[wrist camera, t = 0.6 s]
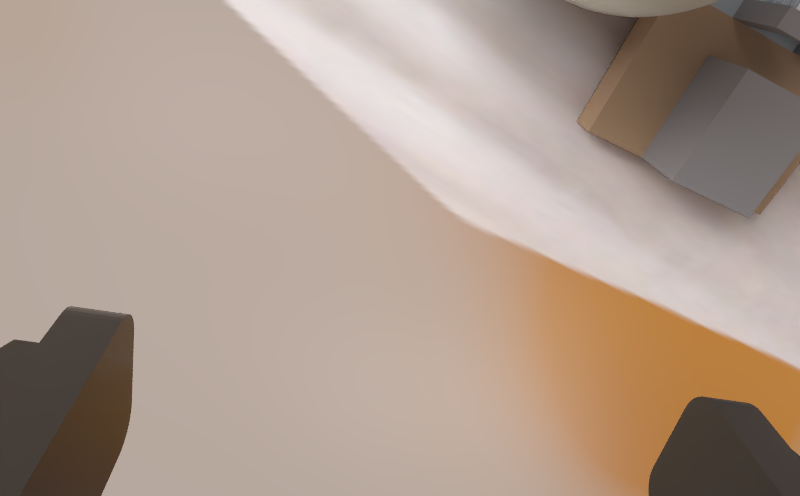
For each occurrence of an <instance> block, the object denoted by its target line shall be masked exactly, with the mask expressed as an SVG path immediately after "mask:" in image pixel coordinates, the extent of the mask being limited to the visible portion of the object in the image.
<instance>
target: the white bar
mask: <svg viewBox="0 0 800 496" xmlns="http://www.w3.org/2000/svg"><path fill="white" fill-rule="evenodd" d="M772 3H777V4H783V5H789V6H792V7H794V8H796V9H797V10H799V11H800V0H773V2H772Z"/></svg>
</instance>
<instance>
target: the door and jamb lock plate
mask: <svg viewBox="0 0 800 496" xmlns="http://www.w3.org/2000/svg"><path fill="white" fill-rule="evenodd" d="M772 2H773V0H718V1H716V2H714V3H711V4H708V5H706V6H702V7H699V8H696V9H692V10H689V11H685V12H680V13H676V14H670V15H663V16H654V17H639V18H638V19H637V21H636V23H635V24H634V26H633V28H632V29H631V31H630V33H629V35H628V36H627V38H626V40H625V41H624V43H623V45H622V46H621V48H620V50H619V51H618V53H617V55H616V56H615V58H614V60H613V62H612V63H611V65H610V67H609V68H608V70H607V72H606V73H605V75H604V77H603V78H602V80H601V82H600V83H599V85H598V87H597V89H596V90H595V92H594V94H593V95H592V97H591V99H590V100H589V102H588V104H587V105H586V107H585V109H584V110H583V112H582V114H581V116H580V117H579V119H578V121H577V123H578V124H580V125H581V126H582V127H583V128H584V129H586V130H587V131H588V132H590V133H592V134H594V135H596V136H598V137H600V138H602V139H604V140H606V141H608V142H610V143H612V144H614V145H617V146H619V147H621V148H623V149H625V150H627V151H629V152H631V153H633V154H635V155H637V156H639V157H641V158H643V159H644V160H645V161H647V162H648V163H649V164H650V165H652V166H653V167H654V168H655V169H657V170H658V171H659V172H661V173H662V174H663V175H664V176H666V177H667V178H668V179H670V180H671V181H672V182H674V183H677V184H679V185H681V186H683V187H685V188H687V189H689V190H691V191H693V192H695V193H697V194H700V195H702V196H704V197H706V198H708V199H710V200H712V201H714V202H716V203H718V204H720V205H723V206H725V207H727V208H729V209H731V210H733V211H735V212H737V213H739V214H741V215H743V216H746V217H748V218H750V216H751V215H752V214H753V212H755V213H757V214H759V215H760V214H761V213H762V211H763V210H764V209H765V207H766V206H767V205H768V203H769V202H770V201H771V199H772V198H773V197H774V195H775V194H776V193H777V192H778V190H779V189H780V188H781V186H782V185H783V184H784V182H785V181H786V180H787V178H788V177H789V176H790V174H791V173H792V172H793V170H794V169H795V168H796V167H797V165H798V164H799V163H800V11H799V10H797V9H796V8H794V7H792V6H789V5H783V4H777V3H772Z"/></svg>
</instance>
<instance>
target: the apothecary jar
mask: <svg viewBox="0 0 800 496" xmlns="http://www.w3.org/2000/svg"><path fill="white" fill-rule="evenodd" d="M564 1H566V2H569V3H571V4H573V5H575V6H578V7H580V8H583V9H586V10H589V11H593V12H597V13H601V14H607V15H613V16H621V17H654V16H663V15H670V14H676V13H680V12H685V11H689V10H692V9H696V8H699V7H702V6H706V5H708V4H711V3H714V2H716V1H718V0H564Z"/></svg>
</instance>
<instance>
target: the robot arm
mask: <svg viewBox="0 0 800 496" xmlns="http://www.w3.org/2000/svg"><path fill="white" fill-rule="evenodd" d="M133 341H134V322H133V318H132V316H131V315H129V314H122V313H115V312H108V311H100V310H94V309H86V308H79V307H72V306H70V307H67V308H66V309H65V310H64V311H63V312H62V313H61V315H60V316H59V317H58V319H57V320H56V321H55V323H54V324H53V325H52V327H51V328H50V329H49V331H48V332H47V333H46V335H45V336H44V337H43V339H42V340H41V341H40V343H36V342H28V341H21V340H13V341H11V342H9V343H8V344H6V345H4V346H3V347H1V348H0V496H101V495H102V492H103V490H104V488H105V485H106V483H107V481H108V479H109V477H110V474H111V472H112V470H113V468H114V466H115V463H116V461H117V459H118V456H119V454H120V452H121V449H122V446H123V444H124V440H125V437H126V433H127V429H128V425H129V420H130V414H131V405H132V376H133ZM649 496H800V456H799V455H798V454H797V453H795V452H794V451H793V450H792V449H791V448H790V447H789V446H788V445H787V443H786V442H785V441H784V440H783V438H782V437H781V436H780V435H779V434H778V432H777V431H776V430H775V429H774V427H773V426H772V425H771V424H770V422H769V421H768V420H767V419H766V418H765V416H764V415H763V414H762V413H761V411H760V410H759V409H758V408H756V407H755V406H754V405H752V404H749V403H744V402H736V401H730V400H723V399H716V398H708V397H697V398H694V399H693V400H692V401H690V402H689V403H688V405H687V406H686V408H685V410H684V412H683V413H682V415H681V417H680V419H679V421H678V423H677V425H676V426H675V428H674V430H673V432H672V434H671V435H670V437H669V439H668V441H667V443H666V445H665V447H664V449H663V450H662V452H661V454H660V456H659V458H658V460H657V462H656V463H655V465H654V467H653V469H652V472H651V475H650V480H649Z"/></svg>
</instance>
